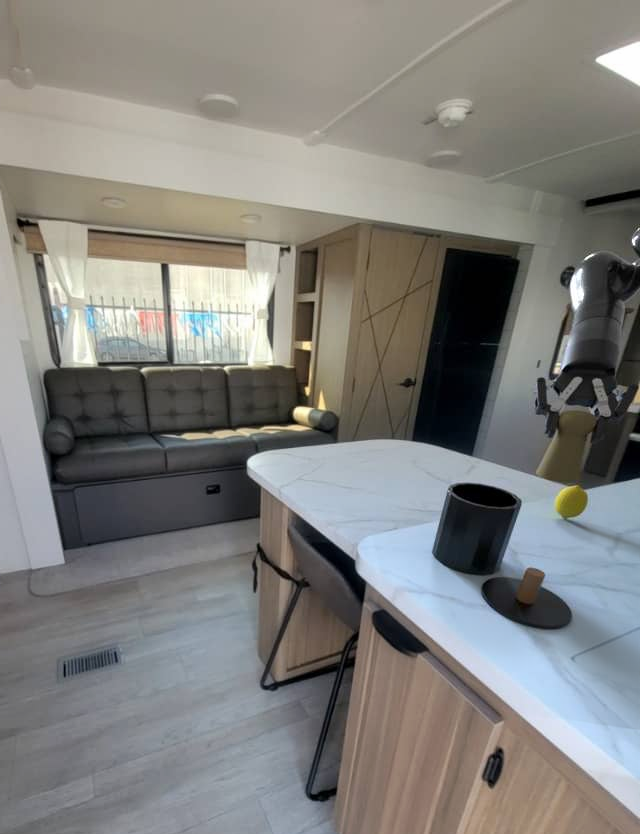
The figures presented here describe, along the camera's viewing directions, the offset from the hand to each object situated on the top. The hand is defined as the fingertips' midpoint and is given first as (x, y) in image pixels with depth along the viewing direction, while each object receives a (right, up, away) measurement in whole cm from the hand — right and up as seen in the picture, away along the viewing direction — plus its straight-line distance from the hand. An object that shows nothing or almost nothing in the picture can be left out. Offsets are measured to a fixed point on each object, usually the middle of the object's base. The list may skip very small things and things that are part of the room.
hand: (572, 437), depth 65 cm
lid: (-10, -26, -3) cm, 28 cm away
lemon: (+18, -14, +26) cm, 34 cm away
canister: (-13, -21, +9) cm, 26 cm away
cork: (+1, -6, +5) cm, 8 cm away
